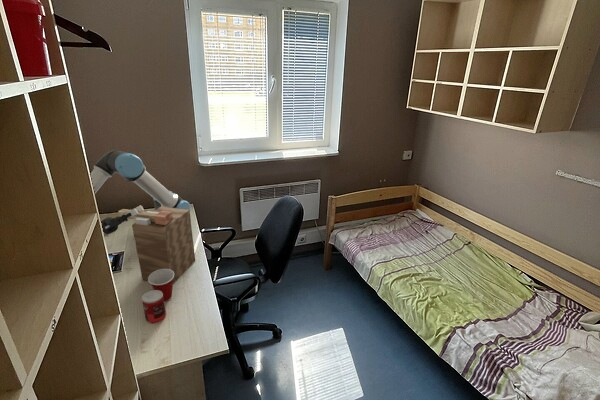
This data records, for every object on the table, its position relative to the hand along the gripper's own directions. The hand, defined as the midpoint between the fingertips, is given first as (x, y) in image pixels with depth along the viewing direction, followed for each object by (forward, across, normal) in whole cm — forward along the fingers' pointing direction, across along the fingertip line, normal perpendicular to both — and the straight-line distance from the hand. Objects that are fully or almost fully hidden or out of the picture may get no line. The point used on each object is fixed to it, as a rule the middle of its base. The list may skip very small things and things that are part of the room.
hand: (139, 209), depth 151 cm
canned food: (+1, +27, -41) cm, 49 cm away
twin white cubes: (+1, 0, -6) cm, 6 cm away
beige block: (0, 0, -5) cm, 5 cm away
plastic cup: (-2, +15, -40) cm, 42 cm away
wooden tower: (-11, -5, -34) cm, 36 cm away
